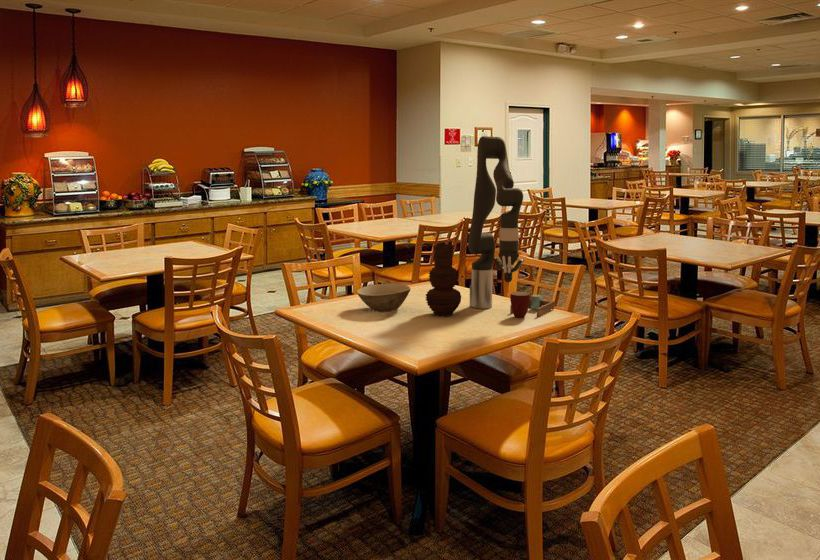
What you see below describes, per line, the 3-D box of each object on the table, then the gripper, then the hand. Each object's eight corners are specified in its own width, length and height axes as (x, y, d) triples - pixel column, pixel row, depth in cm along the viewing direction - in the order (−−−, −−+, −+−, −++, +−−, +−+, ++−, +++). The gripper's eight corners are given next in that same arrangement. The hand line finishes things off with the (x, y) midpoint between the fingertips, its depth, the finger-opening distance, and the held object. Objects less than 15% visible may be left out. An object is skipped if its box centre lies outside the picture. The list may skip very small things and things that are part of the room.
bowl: (347, 313, 298) (347, 290, 296) (371, 302, 320) (371, 281, 318) (397, 318, 290) (397, 294, 288) (418, 306, 311) (418, 284, 309)
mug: (527, 321, 282) (528, 297, 281) (508, 319, 284) (508, 296, 283) (530, 315, 292) (530, 292, 291) (511, 314, 294) (511, 291, 293)
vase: (417, 314, 295) (417, 245, 289) (441, 308, 306) (441, 241, 300) (445, 320, 284) (445, 248, 279) (468, 314, 295) (469, 244, 290)
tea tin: (530, 309, 303) (531, 296, 302) (534, 307, 307) (534, 294, 305) (539, 310, 301) (539, 297, 300) (542, 308, 304) (543, 295, 303)
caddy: (510, 313, 296) (510, 305, 295) (526, 305, 310) (526, 298, 309) (538, 317, 289) (538, 308, 288) (553, 309, 303) (554, 301, 302)
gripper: (489, 239, 273) (489, 281, 276) (520, 240, 266) (519, 284, 269) (497, 237, 279) (497, 279, 282) (528, 238, 272) (527, 281, 275)
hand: (508, 281), depth 275 cm, fingers closed
